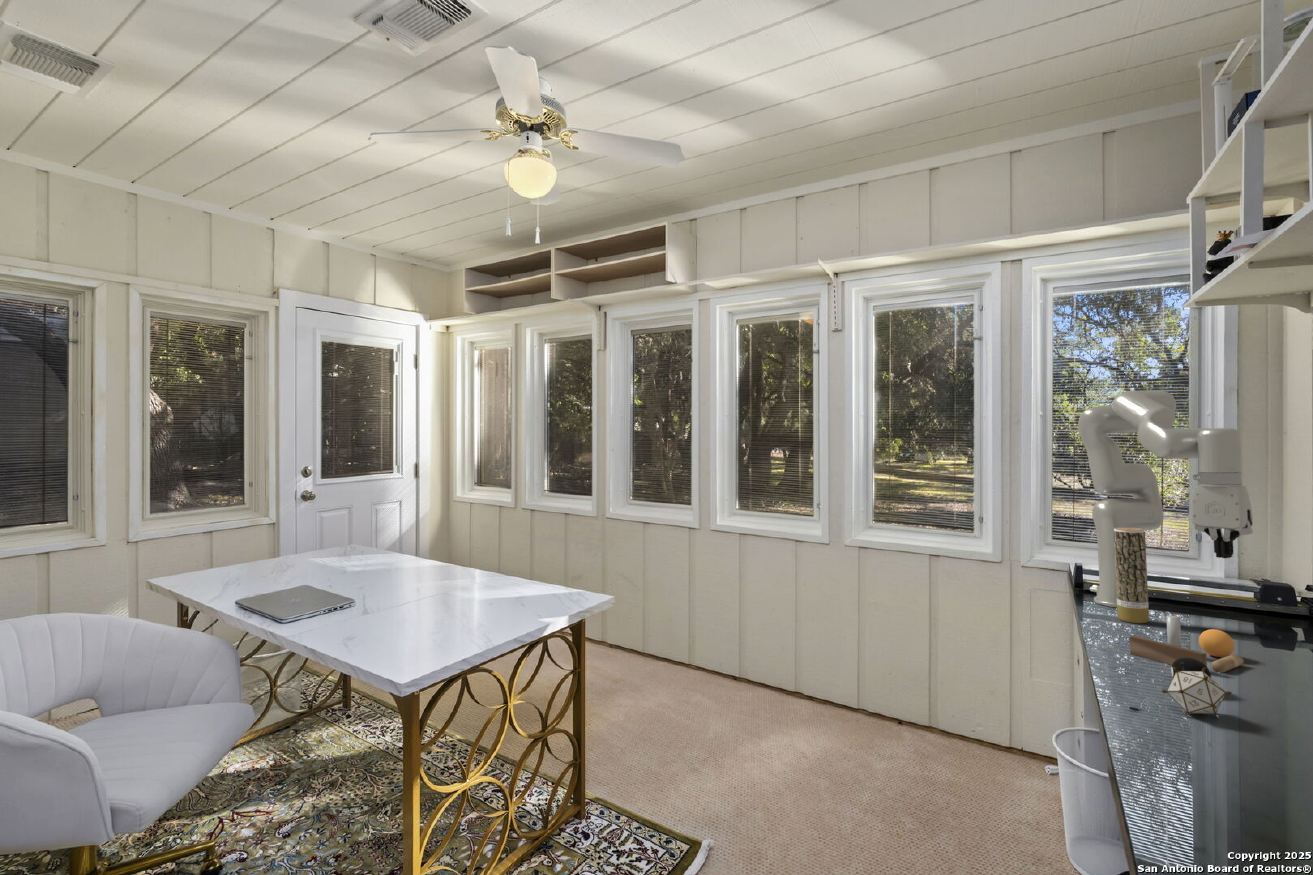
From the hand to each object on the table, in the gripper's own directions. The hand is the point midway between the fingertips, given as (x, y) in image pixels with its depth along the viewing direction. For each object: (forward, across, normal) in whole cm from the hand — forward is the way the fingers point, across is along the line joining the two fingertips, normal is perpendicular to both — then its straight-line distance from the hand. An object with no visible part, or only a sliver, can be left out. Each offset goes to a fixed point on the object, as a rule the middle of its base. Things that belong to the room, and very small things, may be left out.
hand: (1224, 557), depth 146 cm
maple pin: (+20, +7, -13) cm, 25 cm away
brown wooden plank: (+21, 0, -24) cm, 32 cm away
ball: (+18, +2, -10) cm, 21 cm away
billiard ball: (+21, +11, -36) cm, 43 cm away
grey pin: (+21, -2, -16) cm, 27 cm away
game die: (+21, +18, -49) cm, 56 cm away
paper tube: (+21, -23, +4) cm, 31 cm away
